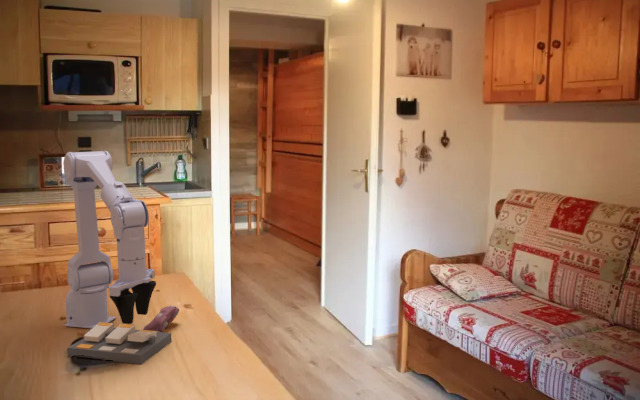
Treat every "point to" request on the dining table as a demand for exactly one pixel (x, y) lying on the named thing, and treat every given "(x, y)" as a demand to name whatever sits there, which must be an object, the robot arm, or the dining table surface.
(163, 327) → the video game controller
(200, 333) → the dining table surface
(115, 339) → the block
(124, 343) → the switch unit
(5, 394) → the dining table surface
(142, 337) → the rocker
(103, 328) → the block
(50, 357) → the dining table surface
